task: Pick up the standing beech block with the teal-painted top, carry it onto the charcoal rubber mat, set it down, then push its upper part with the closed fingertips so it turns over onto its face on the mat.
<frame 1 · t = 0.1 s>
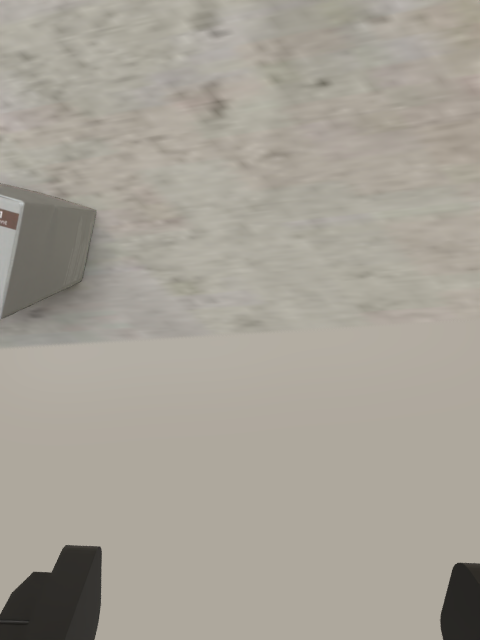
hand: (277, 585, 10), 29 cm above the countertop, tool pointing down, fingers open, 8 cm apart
skincare box: (46, 230, 36), on the countertop
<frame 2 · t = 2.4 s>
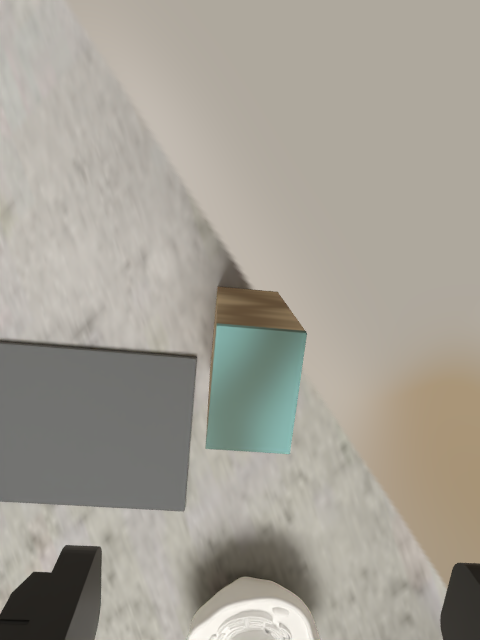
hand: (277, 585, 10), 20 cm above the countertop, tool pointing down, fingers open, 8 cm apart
cell model: (251, 604, 35), on the countertop
mat: (76, 428, 30), on the countertop
block: (243, 332, 29), on the countertop
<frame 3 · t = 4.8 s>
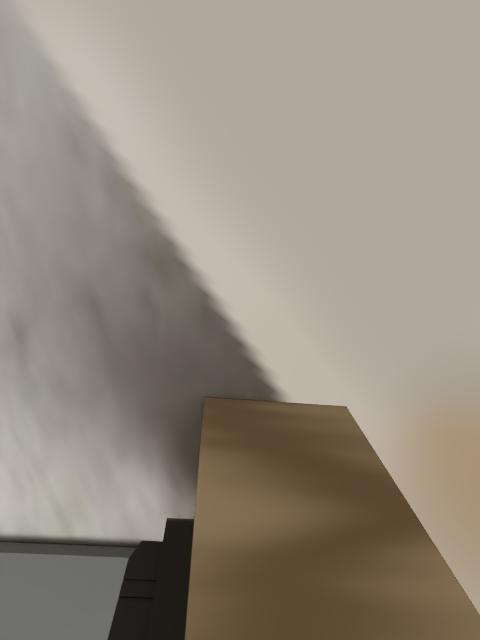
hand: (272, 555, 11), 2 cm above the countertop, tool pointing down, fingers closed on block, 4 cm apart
block: (264, 495, 13), on the countertop, touching gripper
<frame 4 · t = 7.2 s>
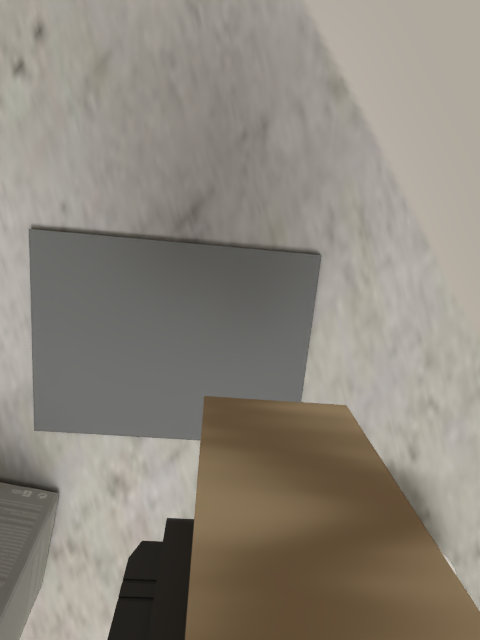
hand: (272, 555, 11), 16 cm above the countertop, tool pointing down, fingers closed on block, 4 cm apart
skincare box: (10, 532, 29), on the countertop
mat: (173, 344, 26), on the countertop
block: (264, 494, 13), point 14 cm above the countertop, touching gripper
when the fingers open (3 cm above the countertop, at t = 9.7 s): block stays where it is, resting on mat.
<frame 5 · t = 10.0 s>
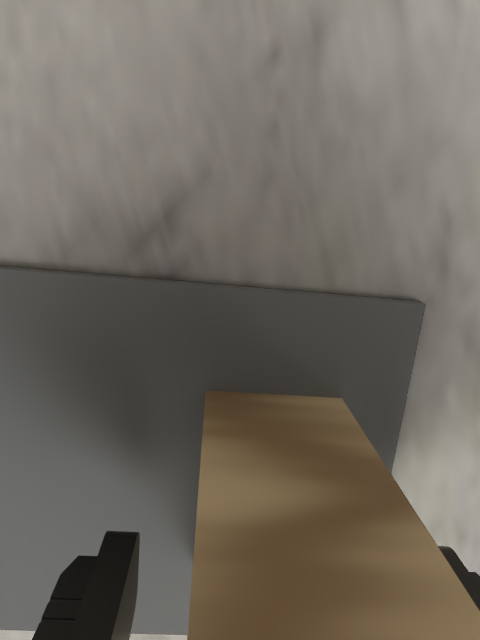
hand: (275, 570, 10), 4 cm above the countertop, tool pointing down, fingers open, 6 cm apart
mat: (132, 468, 13), on the countertop
block: (264, 484, 13), resting on mat
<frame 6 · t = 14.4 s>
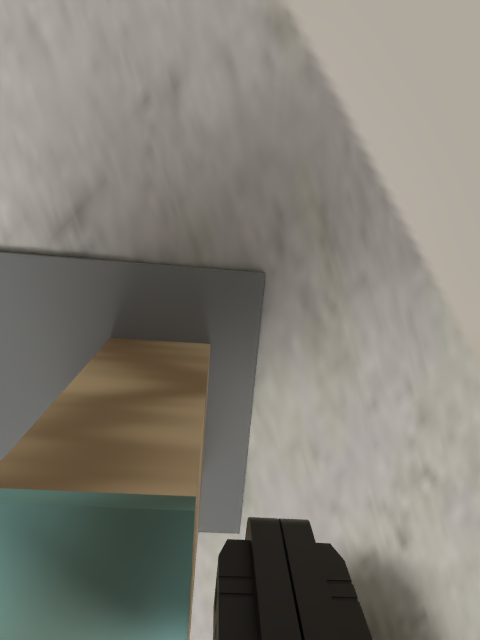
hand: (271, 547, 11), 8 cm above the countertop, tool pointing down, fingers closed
mat: (62, 398, 18), on the countertop
block: (158, 409, 18), resting on mat, touching gripper
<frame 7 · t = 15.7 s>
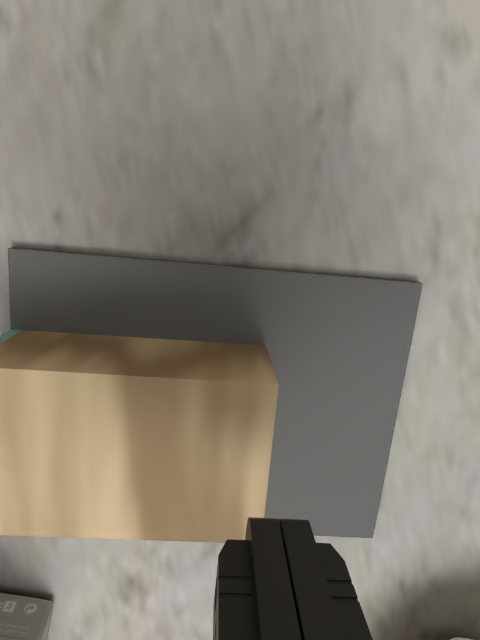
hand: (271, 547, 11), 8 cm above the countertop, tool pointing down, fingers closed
mat: (210, 405, 18), on the countertop
block: (263, 437, 16), point 2 cm above the countertop, tilted 90°, touching mat
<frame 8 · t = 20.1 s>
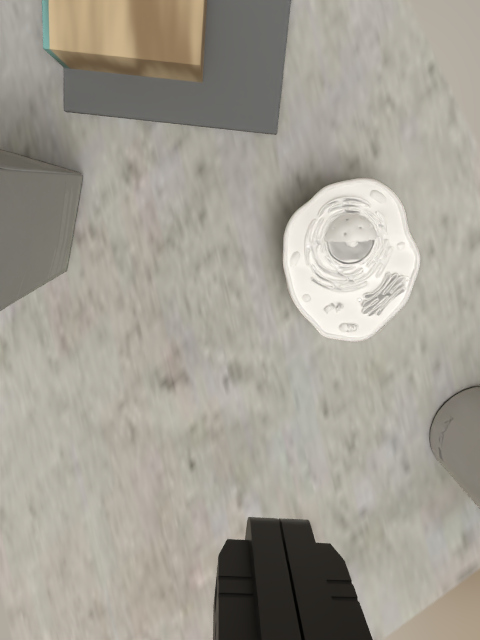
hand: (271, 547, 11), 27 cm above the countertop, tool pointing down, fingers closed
skincare box: (41, 217, 35), on the countertop
cell model: (333, 256, 36), on the countertop
mat: (177, 35, 32), on the countertop
block: (204, 25, 29), point 2 cm above the countertop, tilted 90°, touching mat
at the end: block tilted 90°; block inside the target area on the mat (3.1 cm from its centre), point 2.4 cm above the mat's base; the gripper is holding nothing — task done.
